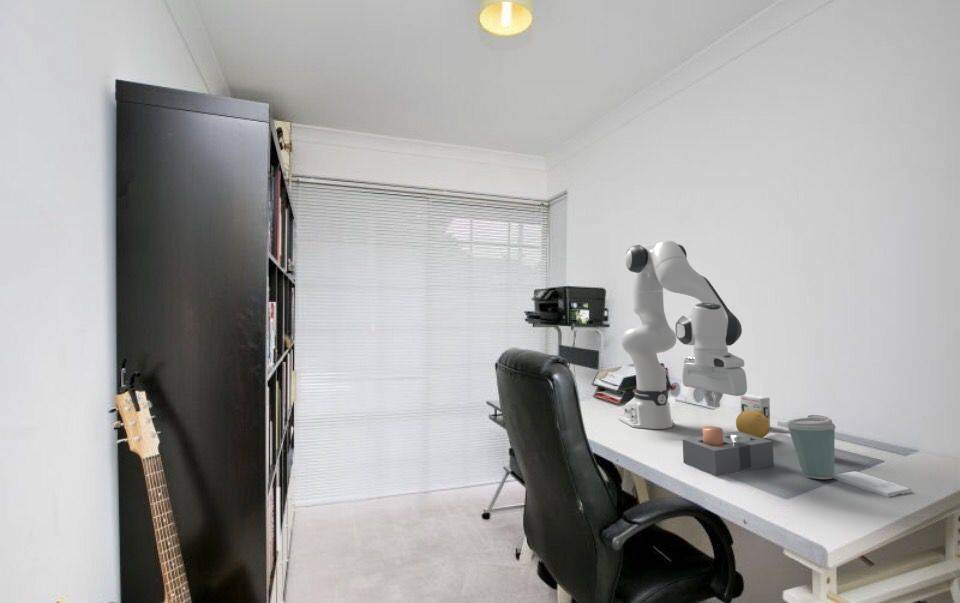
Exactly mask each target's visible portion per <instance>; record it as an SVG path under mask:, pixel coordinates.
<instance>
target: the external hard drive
mask: <svg viewBox="0 0 960 603" xmlns="http://www.w3.org/2000/svg"><path fill="white" fill-rule="evenodd" d="M835 479H837V480H836V481H838V480H840V481H839V482H841V481H842V483H844V482H845V484H847V485H850V486H853V487H856V488H860V489H862V490H864V491H868V492H870V491H871V493H873V492H874V494H876V493H877V494H876V495H879V496H882V495H883V497H886V498H891V497H890V496H892V497H896V496H895V495H897V494H900V495H905V493H907V494H910V493H909V492H912V491H913V490H912V488H909V487H906V486H903V485H901V484H897V483H894V482H891V481H888V480H886V479H885V480H884V479H881V478H879V477H875V476H872V475H869V474H866V473H864V472H863V473H862V472H859V471H857V470H854V471H853V470H852V471H848V472H842V473H837V474H835V473H834V475H833V480H835ZM897 496H898V495H897Z"/></svg>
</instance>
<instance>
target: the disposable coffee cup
mask: <svg viewBox="0 0 960 603" xmlns="http://www.w3.org/2000/svg"><path fill="white" fill-rule="evenodd" d="M807 417H808V416H807ZM807 417H800V418H799V417H798V418H794V419H793V418H792V419H791V420H788V422H786V428H787V429H788V431H789V434H790V437H791V440H792V444H793V446H794V450H795V453H796V456H797V459H798V463H799V466H800V468H801V472H802V473H803V475H804V476H805V478H809V479H815V480H830V479H834V475H835V432H836V431H835V429H836V425H835V424H834V423H833V420H832V419H831V418H829V417H828V418H825V417H826V416H825V417H808V418H807Z"/></svg>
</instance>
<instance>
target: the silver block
mask: <svg viewBox="0 0 960 603" xmlns="http://www.w3.org/2000/svg"><path fill="white" fill-rule="evenodd" d="M730 439H732V440H735V441H739V442H745V441H750V435H748V434H744V433H730Z"/></svg>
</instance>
